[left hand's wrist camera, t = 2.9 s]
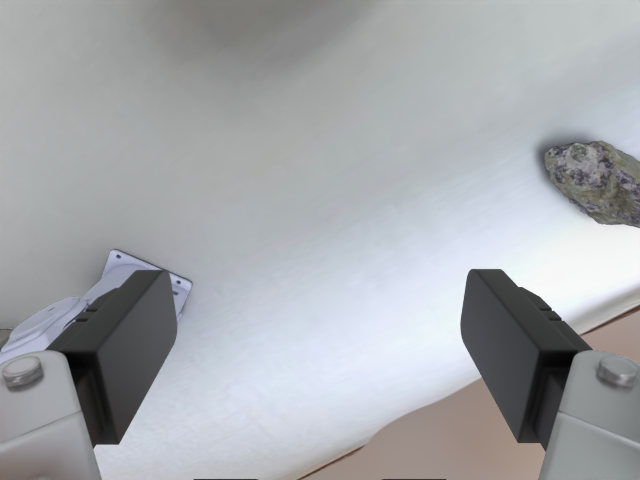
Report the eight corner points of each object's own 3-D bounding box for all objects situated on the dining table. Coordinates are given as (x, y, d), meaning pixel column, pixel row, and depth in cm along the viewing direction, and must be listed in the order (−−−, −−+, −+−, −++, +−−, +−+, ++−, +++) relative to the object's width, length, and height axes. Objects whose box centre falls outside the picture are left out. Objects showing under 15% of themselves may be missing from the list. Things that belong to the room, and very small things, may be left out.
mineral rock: (529, 148, 41) (590, 169, 32) (634, 87, 39) (733, 89, 30) (574, 247, 45) (640, 291, 36) (672, 196, 43) (770, 229, 34)
